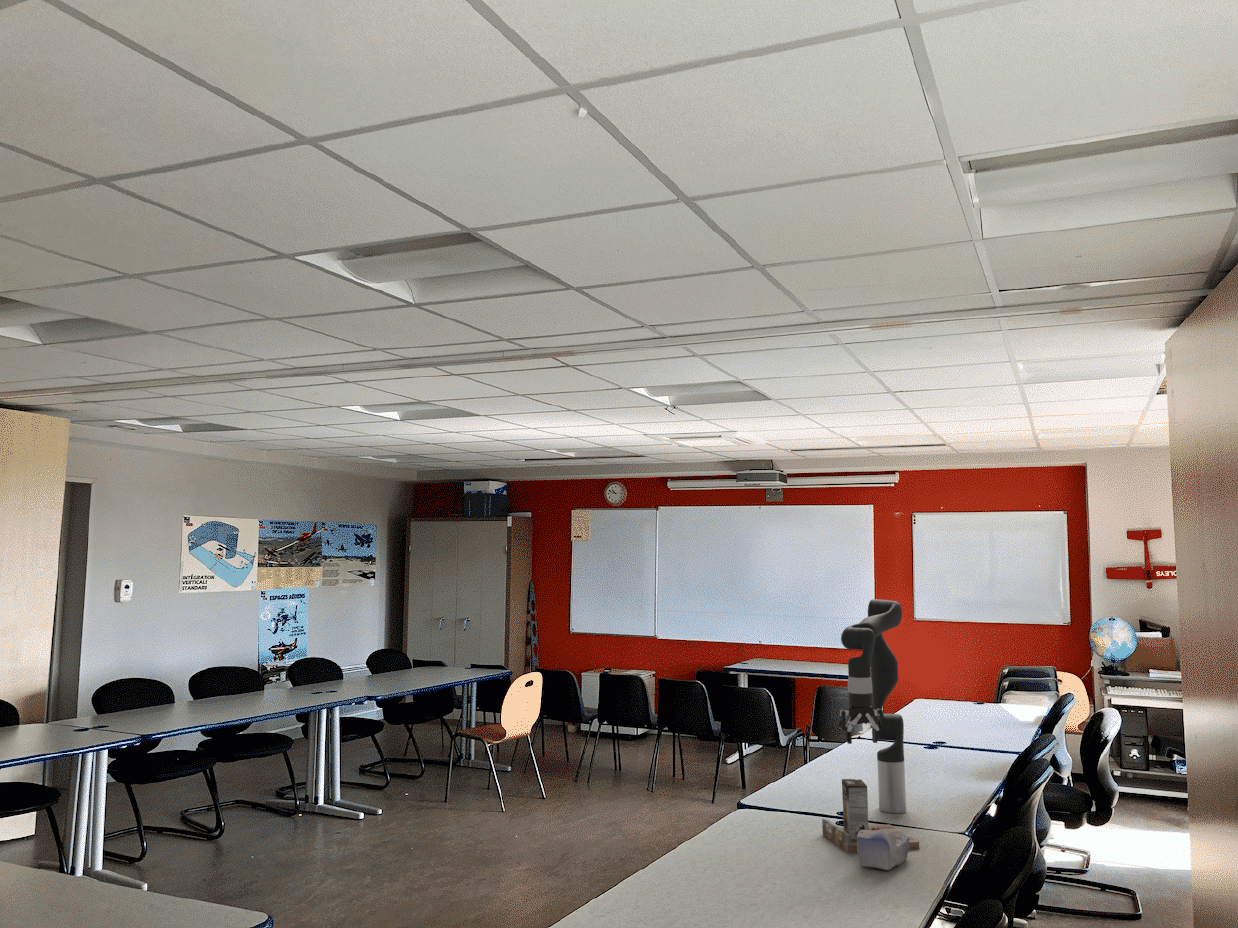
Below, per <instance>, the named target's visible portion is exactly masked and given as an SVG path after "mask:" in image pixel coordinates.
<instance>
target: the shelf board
mask: <svg viewBox="0 0 1238 928" xmlns="http://www.w3.org/2000/svg"><path fill="white" fill-rule="evenodd" d="M821 821H822V822H821V825H822V826H821V827H822V828H821V830H822V835H823V836H824V837H826V838H827V839H829V840H830V841H831V842H832V843H833V844H835V845H836V846H838V847H839V848H840V849H842V850H843V851H844V852H846V853H847V854H850V853H851V854H852V853H858V851H857V839H851V835H850V834H848V833H847V832H845V831H844V826H838V825H836V824H835V823H834V822H832V821H831V820H829V819H828V818H825V817H823V818H821ZM872 828H874V829H878V828H879V829H880V830H881V829H885V830H889V831H891V832H892V833H894V834H898V835H901V834H904V835H905V836H908V837H909V838H910V839H909V850H918V849H920V841H918V840H917V839H915V838H913V837H912V836H910V835H908V834H907V833H905V832H903V831H902V830H900V829H899V828H897V827H895V826H893V825H892V824H874V825H873V824H872V825H870V824H868V830H871V829H872Z"/></svg>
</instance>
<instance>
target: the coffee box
mask: <svg viewBox="0 0 1238 928" xmlns="http://www.w3.org/2000/svg"><path fill="white" fill-rule="evenodd" d="M841 788H842V789H841V793H842V815H843V816H842V817H843V819H842V820H843V822H842V823H843V827H844V831H845V832H847V833H848V834H850V835H851V839H857V835H858V833H859V831H860V830H868V826H869V806H868V805H869V800H868V785H867V784H866V783H865V782H864V781H863V780H862V779H855V778H854V779H853V778H842V779H841Z"/></svg>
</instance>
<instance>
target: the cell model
mask: <svg viewBox="0 0 1238 928" xmlns="http://www.w3.org/2000/svg"><path fill="white" fill-rule="evenodd" d="M908 836H909V835H908ZM908 836H905V835H904V834H901V835H898V834H894V833H892V832H891V831H889V830H885V829H881V830H880V829H879V828H878V829H874V828H872V829H871V830H860V831H859V833H858V835H857V851H858V852H857V854H858V855H857V856H858V859H859V862H860V865H861V866H862V867H865V868H866V867H869V868H874V869H879V870H883V871H890V870H891V869H892V868H894V867H898V866H900V865H901V864H904V862H905V860H906V859H907V858H908V855H909V854H908V853H909V850H910V849H909V839H910V838H909V837H908Z"/></svg>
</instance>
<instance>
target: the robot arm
mask: <svg viewBox="0 0 1238 928" xmlns="http://www.w3.org/2000/svg"><path fill="white" fill-rule="evenodd" d="M867 606H868V607H867V617H865V618H863V619H862V620H860V622H858V623H855V624H852V625H849V626H847V627H846V628H844V630H842V633H841V636H840V641H841V644H842V645H843V647H844V648H845V649H847V650H849V651H850V650H852V651H853V650H854V651H862V653H861V655H859V656H855V657H850V658H849V659H848V661H847V667H848V668H847V669H848V671H847V673H848V680H847V690H848V691H847V692H848V693H847V694H848V710H843V709H839V711H838V728H839V730H842V731H844V737H845V738H844V740H845V742H846V743H847V744H848V745H852V742H853V740H852V730H853V728H854V727H855V726H856V725H862V724H865V725H867V724H868V725H869V726H870V728H871V738H872V740H871V741H872V743H873V744H878V742H879V741H892V742H893V741H894V742H893V743H892V744H891V745H890V746H887V747H885V748H883V749H880V750H878V751H877V754H876V757H877V758H876V762H877V789H878V810H879V811H881V812H883V813H888V814H903V813H905V812H907V796H906V795H907V791H906V772H905V771H906V770H905V751H904V749H905V748H904V733H905V732H904V731H905V730H904V726H905V725H904V719H903V717H902V715H901V714H899V713H884V711H883V707H884V705H885V702H886V700H887V699H888V697H889V696H890V694H891V693H892V692H893V690H894V689H895V687H896V685H897V684H898V681H899V666H898V660H897V657H896V655H894V654H895V653H893V650H892V649H891V648H890V646H889V645H888V644H887V642H886V640H885V638H884V636H883V633H884V632H887V631H889V630H891V629H894V628H896V627H898V626H899V625H900V624H901V622H902V619H903V608H902V605H901V603H899V602H898V601H895V600H889V599H888V600H887V599H876V598H873V599H870V601H869V603H868V605H867ZM848 716H849V719H848V721H847V723H846V718H848Z"/></svg>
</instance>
